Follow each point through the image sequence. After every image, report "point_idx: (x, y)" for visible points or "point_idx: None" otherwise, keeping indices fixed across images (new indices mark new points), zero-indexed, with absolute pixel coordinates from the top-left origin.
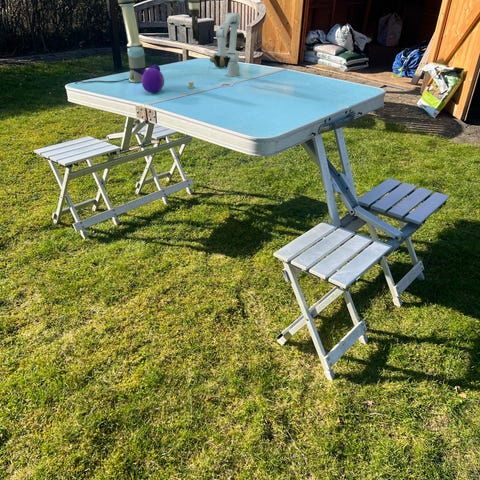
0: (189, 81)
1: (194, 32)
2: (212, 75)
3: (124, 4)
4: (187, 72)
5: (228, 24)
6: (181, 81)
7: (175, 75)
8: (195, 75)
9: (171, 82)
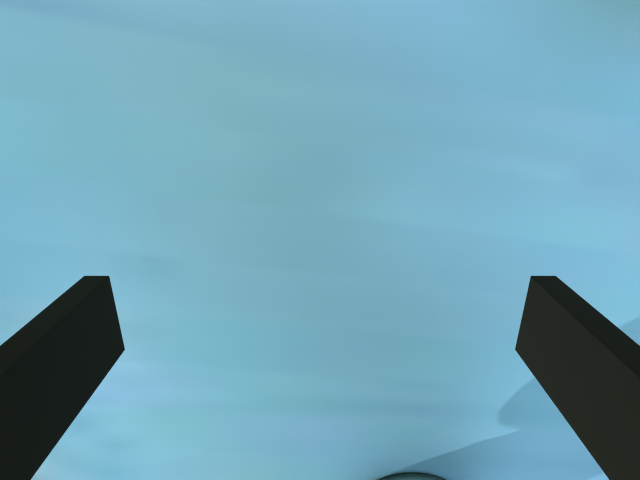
0: None
1: (11, 435)
2: (408, 32)
3: None
4: (191, 234)
5: None
6: None
7: (296, 329)
8: (349, 188)
9: None
